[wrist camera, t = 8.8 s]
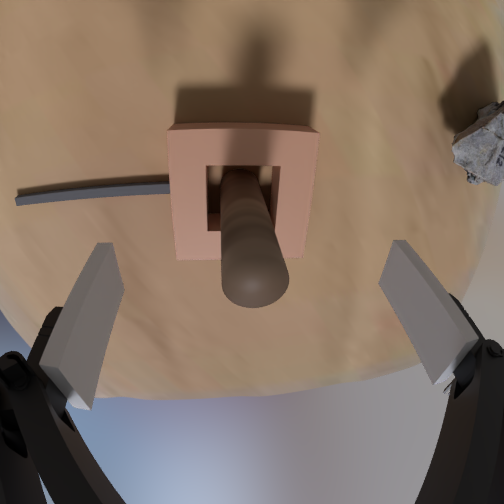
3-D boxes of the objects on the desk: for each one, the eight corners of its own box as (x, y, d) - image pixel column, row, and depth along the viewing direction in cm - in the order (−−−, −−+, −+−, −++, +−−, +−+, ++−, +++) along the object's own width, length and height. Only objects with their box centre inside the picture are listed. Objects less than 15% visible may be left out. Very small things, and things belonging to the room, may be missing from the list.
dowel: (220, 168, 22) (221, 255, 12) (259, 168, 22) (293, 254, 12) (220, 203, 24) (222, 308, 14) (257, 204, 24) (284, 306, 14)
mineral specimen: (450, 141, 27) (443, 66, 20) (510, 150, 22) (515, 75, 15) (450, 203, 24) (450, 119, 16) (520, 215, 19) (541, 133, 12)
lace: (17, 195, 21) (14, 198, 20) (176, 181, 22) (175, 183, 22) (19, 203, 21) (16, 205, 21) (176, 190, 23) (175, 193, 22)
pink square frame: (174, 123, 20) (167, 130, 17) (307, 125, 21) (319, 133, 18) (180, 240, 25) (176, 260, 23) (295, 238, 26) (302, 257, 24)
